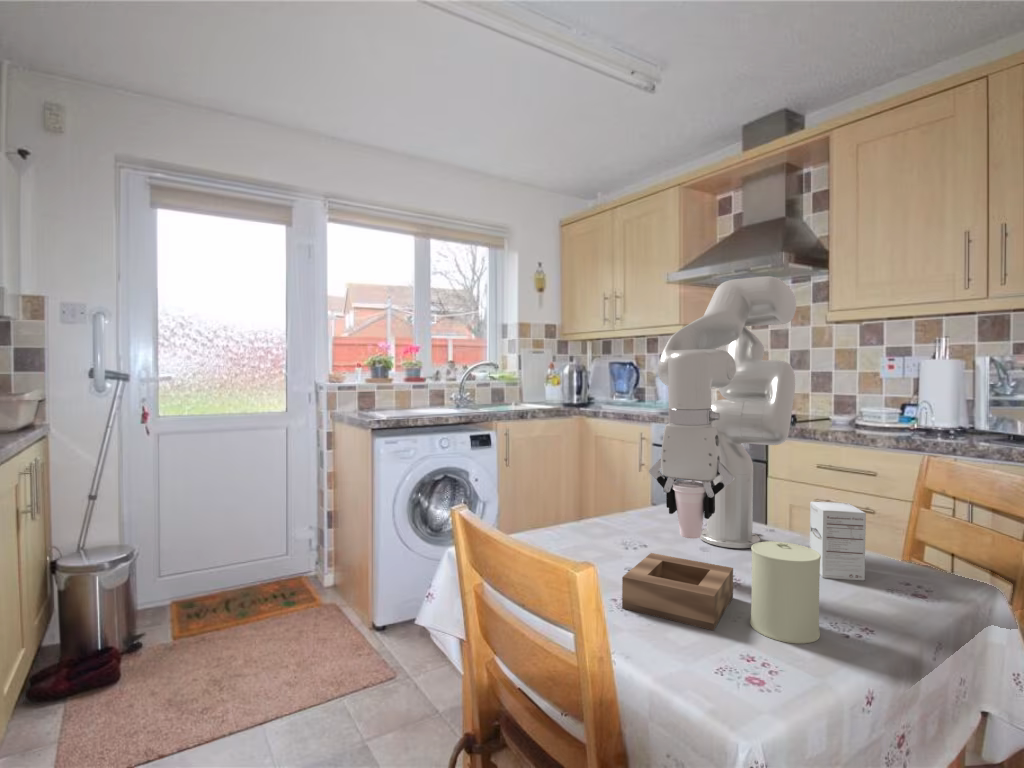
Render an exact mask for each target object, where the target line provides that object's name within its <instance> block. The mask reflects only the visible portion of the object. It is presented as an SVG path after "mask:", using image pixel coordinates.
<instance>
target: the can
mask: <svg viewBox="0 0 1024 768" xmlns="http://www.w3.org/2000/svg"><path fill="white" fill-rule="evenodd" d="M750 549H751V602H750V603H751V608H750V619H749V623H750V626H751V627H752V629H753V630H754V631H755V632H757V633H759V634H760V635H762V636H764V637H767V638H769V639H772V640H774V641H778V642H782V643H783V642H784V643H786V644H787V643H789V644H797V645H798V644H800V645H801V644H804V645H805V644H812V643H814V642H817V641H818V640H819V639H820V638H821V631H820V576H821V575H820V559H821V555H820V554H819V553H818V552H817V551H815V550H813V549H811V548H810V547H808V546H804V545H800V544H797V543H791V542H786V541H770V540H768V541H767V540H766V541H760V542H758V543H755V544H753V545H752V547H751V548H750Z"/></svg>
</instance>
